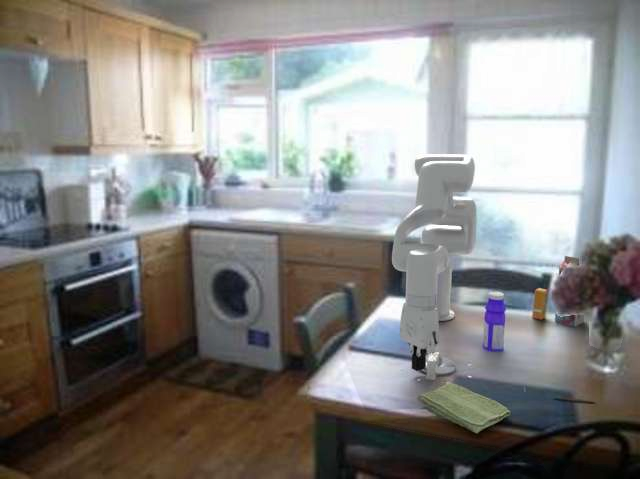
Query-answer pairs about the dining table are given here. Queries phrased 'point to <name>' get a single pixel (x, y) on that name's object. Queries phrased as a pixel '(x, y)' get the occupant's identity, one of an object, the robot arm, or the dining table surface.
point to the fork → (572, 399)
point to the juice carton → (572, 319)
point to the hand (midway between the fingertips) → (418, 368)
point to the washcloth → (464, 407)
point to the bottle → (494, 322)
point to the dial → (438, 366)
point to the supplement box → (539, 303)
